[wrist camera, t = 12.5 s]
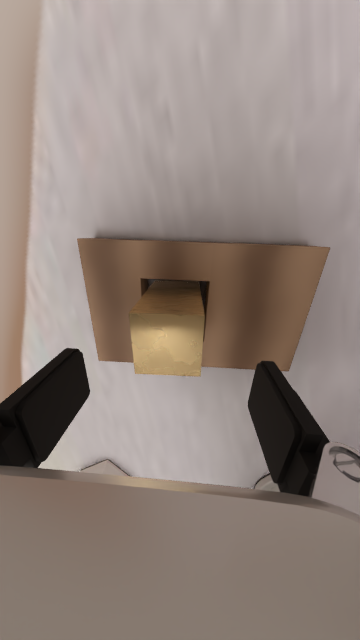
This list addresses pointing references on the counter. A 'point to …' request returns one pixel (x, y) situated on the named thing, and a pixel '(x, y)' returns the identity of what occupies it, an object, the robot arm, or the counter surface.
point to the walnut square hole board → (207, 294)
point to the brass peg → (168, 329)
